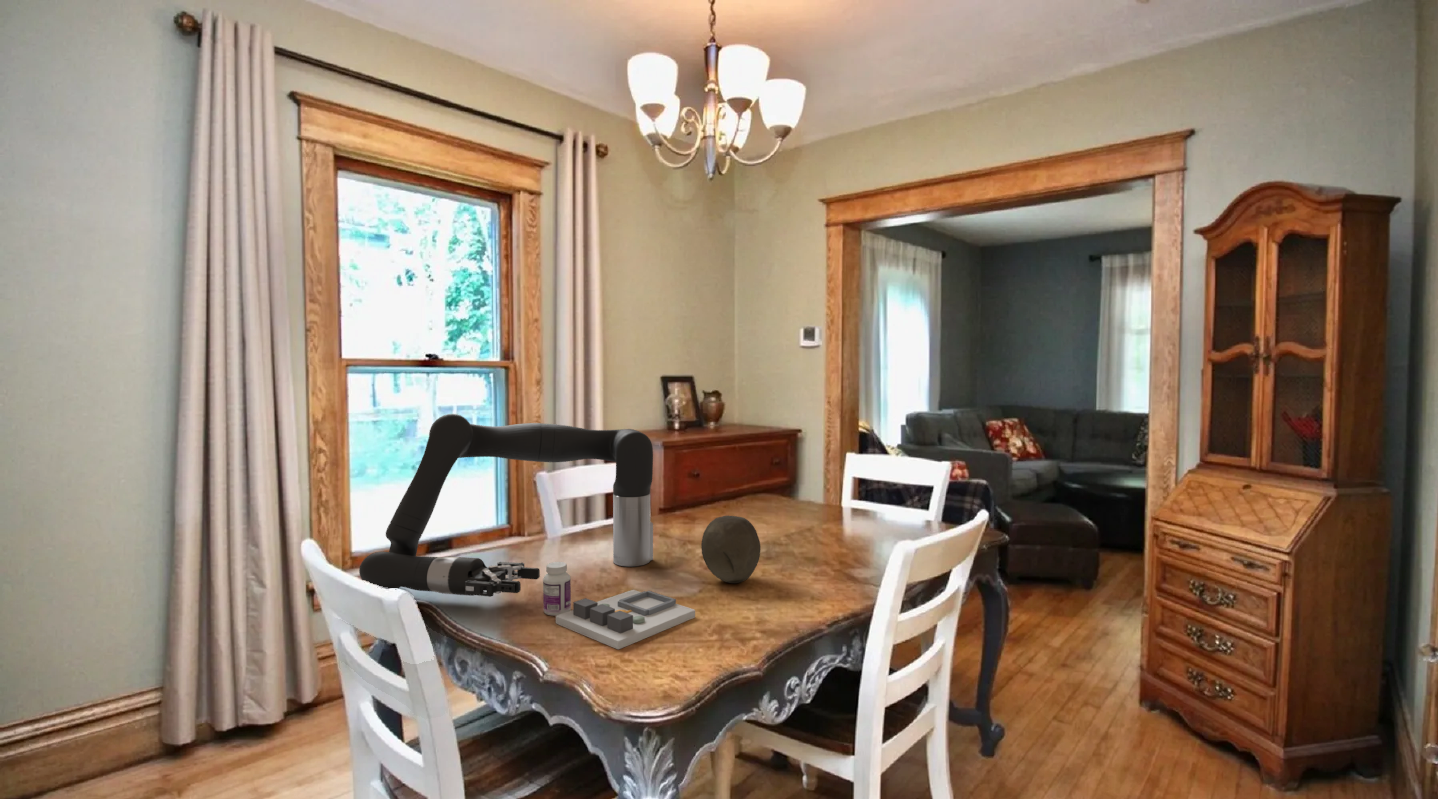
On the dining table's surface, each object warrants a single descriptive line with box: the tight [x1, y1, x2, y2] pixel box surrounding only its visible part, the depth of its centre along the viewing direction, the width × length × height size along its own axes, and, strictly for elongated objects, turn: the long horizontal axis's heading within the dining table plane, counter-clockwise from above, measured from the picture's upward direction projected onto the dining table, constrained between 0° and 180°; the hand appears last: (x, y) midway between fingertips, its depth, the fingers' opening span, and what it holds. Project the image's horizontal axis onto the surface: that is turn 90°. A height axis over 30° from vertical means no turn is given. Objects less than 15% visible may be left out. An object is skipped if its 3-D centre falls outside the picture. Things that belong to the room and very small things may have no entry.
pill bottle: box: [542, 561, 572, 617], centre depth 136 cm, size 5×5×10 cm
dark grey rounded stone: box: [700, 515, 761, 584], centre depth 156 cm, size 14×14×15 cm
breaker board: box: [555, 589, 696, 650], centre depth 132 cm, size 20×18×4 cm
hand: (529, 580), depth 137 cm, fingers open, 8 cm apart
